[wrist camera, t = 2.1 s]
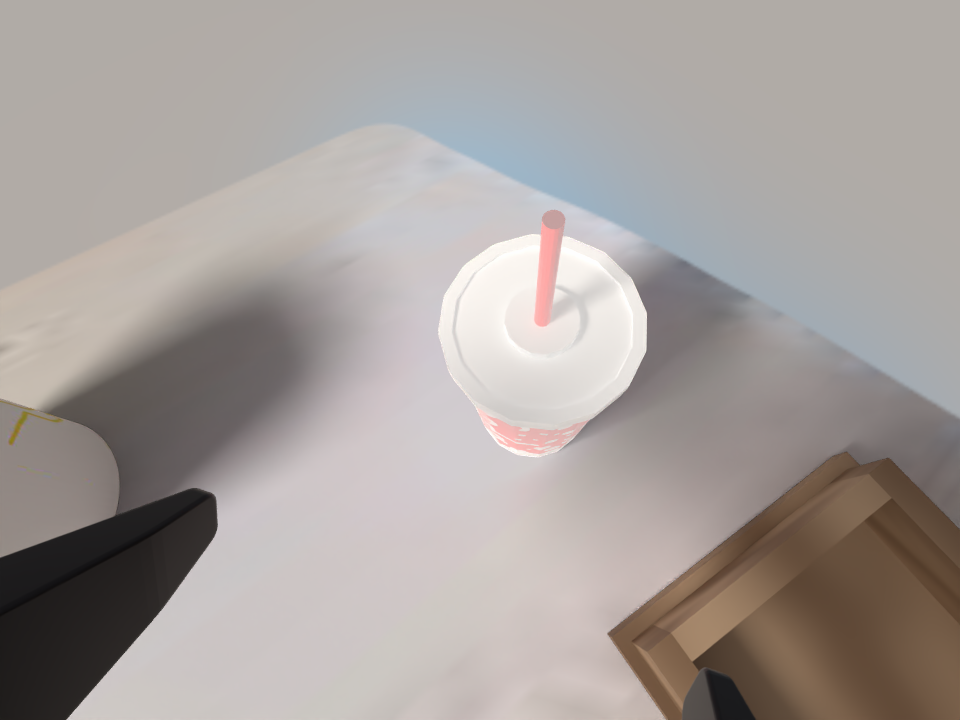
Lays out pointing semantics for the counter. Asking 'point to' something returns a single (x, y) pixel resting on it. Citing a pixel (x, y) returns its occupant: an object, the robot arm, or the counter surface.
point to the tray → (817, 606)
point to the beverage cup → (542, 336)
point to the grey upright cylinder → (51, 477)
